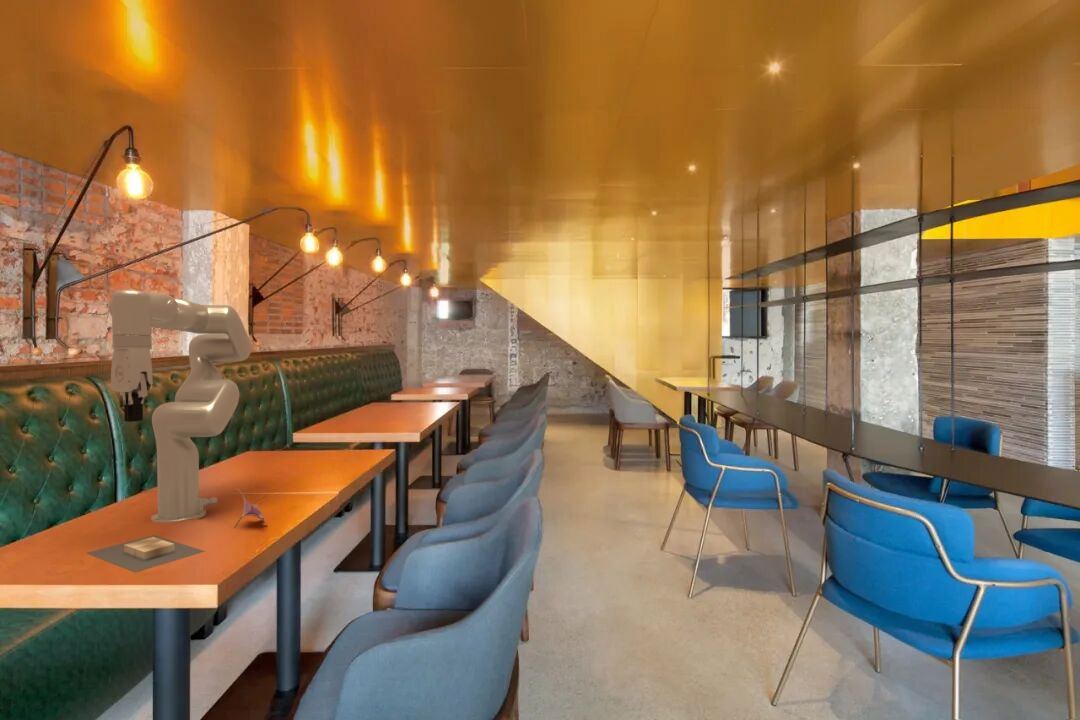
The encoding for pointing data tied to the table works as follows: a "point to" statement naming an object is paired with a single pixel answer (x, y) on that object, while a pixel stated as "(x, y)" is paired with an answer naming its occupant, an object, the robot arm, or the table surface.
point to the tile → (149, 549)
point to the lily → (250, 510)
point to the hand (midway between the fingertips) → (133, 420)
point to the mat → (133, 564)
